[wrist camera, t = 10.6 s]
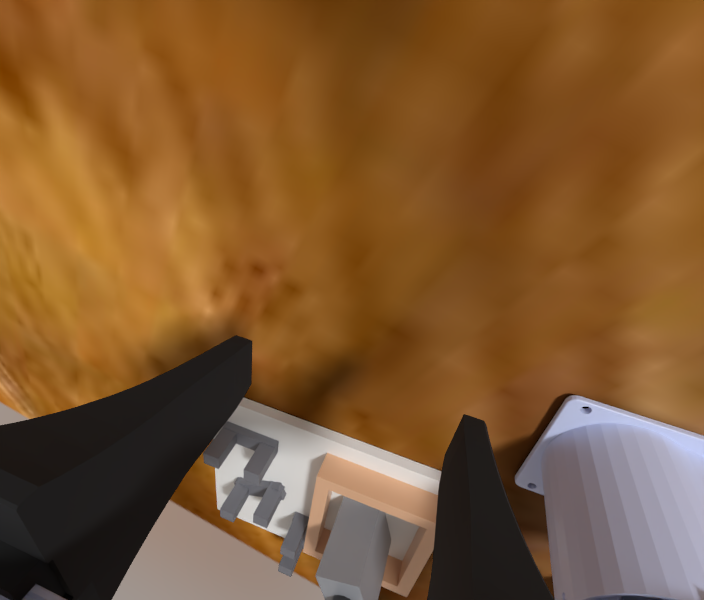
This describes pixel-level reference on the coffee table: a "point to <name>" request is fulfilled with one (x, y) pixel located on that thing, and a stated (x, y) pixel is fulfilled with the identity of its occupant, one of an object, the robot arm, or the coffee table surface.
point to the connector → (355, 553)
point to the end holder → (383, 497)
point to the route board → (296, 475)
